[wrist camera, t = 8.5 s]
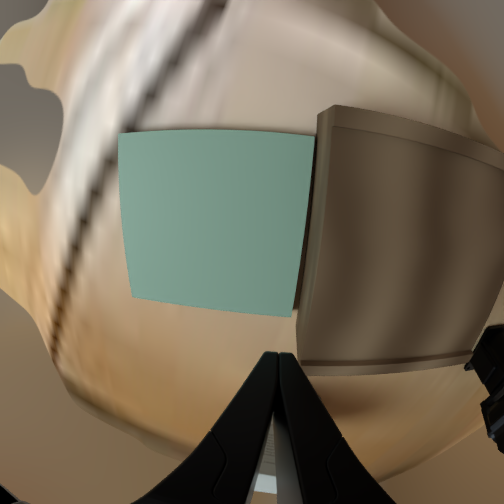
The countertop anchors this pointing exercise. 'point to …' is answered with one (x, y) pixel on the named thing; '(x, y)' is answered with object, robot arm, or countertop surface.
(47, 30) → the countertop surface
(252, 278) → the cover plate
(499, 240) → the walnut box
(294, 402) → the robot arm
